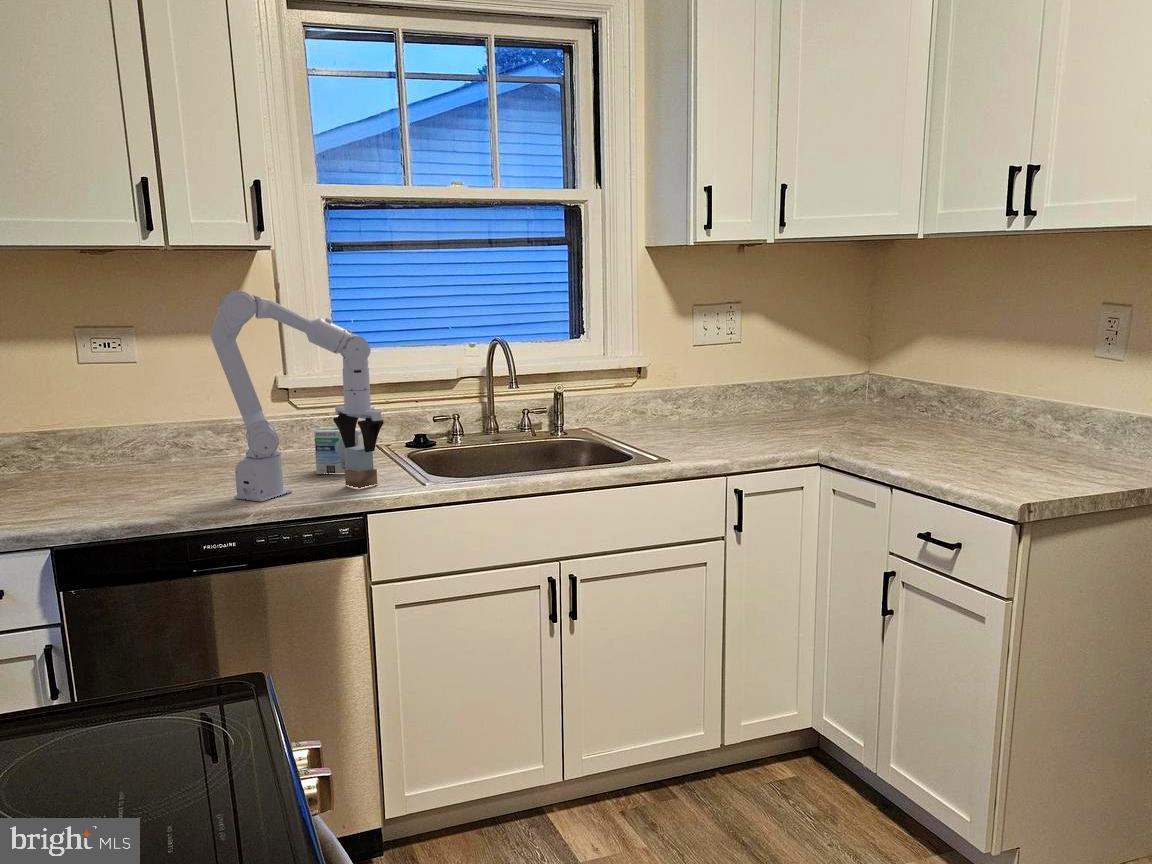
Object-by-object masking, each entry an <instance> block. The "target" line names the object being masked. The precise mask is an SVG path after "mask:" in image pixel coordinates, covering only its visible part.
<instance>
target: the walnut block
mask: <svg viewBox="0 0 1152 864" xmlns="http://www.w3.org/2000/svg"><path fill="white" fill-rule="evenodd" d="M344 480H345V483H344V484H345V486H346V485H349V486H353V487H358V488H361V487H365V486H369V485H374V484H377V485H378V471H377V469H376V468H373V469H372V470H367V471H362V472H355V471H351V470H345V474H344Z"/></svg>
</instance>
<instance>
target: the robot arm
mask: <svg viewBox="0 0 1152 864" xmlns="http://www.w3.org/2000/svg"><path fill="white" fill-rule="evenodd" d="M222 299H223V300H221V302H220V303H219V305H218V307H217V310H216V311H217V312H216V315H215V318H214V322H213V325H212V329H211V333H210V338H211V342H212V344H213V347H214V351H215V352H216V354H217V357H218V360H219V362H220V365H221V367H222V370H223V372H224V375H225V378H226V380H227V382H228V385H229V387H230V389H231V392H232V395H233V397H234V400H235V403H236V405H237V407H238V410H239V413H240V416H241V417H242V421H243V423H244V425H245V428H246V431H245V433H246V434H245V438H246V441H247V446H248V450H247V451H246V452H245V457H244V459H242V460H240V461H239V462H237V464H236V465H235V471H234V474H235V487H236V495H234V497H233V498H234V499H238V500H239V499H240V500H245V499H246V500H247V501H255V502H265V501H268V500H271V498H272V499H275V498H277V496H278V497H281V496H285V495H286V493H287V494H289V493H293V489H289V488H284V479H283V465H282V451H281V450H279V449H278V448H279V445H280V438H279V436H278V434H277V431H276V428H275V427H274V426H273V425H272V424H271V422H269V421H268V420H267V417H266V415H265V412H264V409H263V407H262V404H261V402H260V400H259V397H258V395H257V394H258V393H257V391H256V389H255V387H254V385H253V382H252V379H251V376H250V374H249V371H248V368H247V366H246V364H245V360H244V359H243V356H242V353H241V351H240V348H239V346H238V342H237V338H238V336H239V334H240V332H241V331H242V328H243V327H244V326H245V324H247V323H248V322H249V321H250V320H251V319H252V318H253V317H254V316H255V318H256V319H259V320H260V319H273V320H275V321H276V322H279V323H281V324H284V325H286V326H288V327H291V328H293V329H296V330H297V331H299V332H302V333H305V335H306V337H307V340H308V342H309V343H311V344H313V345H316V346H318V347H320V348H322V349H325V350H326V351H328V352H331V353H333V354H340V356H341V357H342V387H343V388H342V389H343V404H344V405H337V406H336V405H335V407H334V411H335V412H334V413H335V415H336V416H337V417H333V419H332V420H333V422H334V424H335V425H336V427H338V429H339V431H340V434H341V436H342V439H343V443H344V446H345V448H350V447H354V445H355V429H356V426H359V427H360V429H361V432H362V436H363V443H364V449H365V452H371V451H373V452H375V451H376V446H377V441H378V437H379V434H380V431H381V429H382V427H383V425H384V424H385V423H384V421H385V420H383V419H382V411H380V410H377V409H375V407H374V406H372V405H371V386H370V368H369V359H368V358H369V357H370V354H371V350H372V349H371V348H370V345H369V342H368V341H367V340H366V339H365V338H364V337H362V336H360V335H357V333H353V330H351V329H349V328H347V329H345V328H343V327H341V326H339V325H337V324H334V323H333V320H332V319H330V318H328V317H325V319H324V318H322V317H319V318H315V319H313V320H311V319H309V318H307V317H305V316H304V315H302V314H300V313H297V312H295V311H293V310H291V309H290V308H288V307H286V306H283V305H281V304H279V303H278V302H275V301H274V300H271V299H267V298H265V297H262V296H258V295H254V294H250V293H248V292H246V291H242V290H233V291H231V292H228V293H227V294H226V295H225V296H224V298H222ZM359 419H363V420H359ZM357 424H358V425H357ZM280 495H281V496H280ZM274 497H275V498H274Z"/></svg>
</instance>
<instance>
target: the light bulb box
mask: <svg viewBox="0 0 1152 864" xmlns="http://www.w3.org/2000/svg"><path fill="white" fill-rule="evenodd" d="M361 445H362V446H364V443H363V436H362V432H361V429H360V427H359V425H356V429H355V445H354V447H356V446H361ZM314 446H315V447H314V448H315V449H314V452H315V453H314V454H315V469H316V475H317V474H324V473H325V474H326V473H328V474H329V473H345V470H348V460H347V448H345V446H344V443H343V439H342V436H341V434H340V431H339V429H338V427H337V426H320V427H319V428H318V429H316V430H315V431H314Z"/></svg>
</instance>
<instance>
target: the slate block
mask: <svg viewBox="0 0 1152 864" xmlns="http://www.w3.org/2000/svg"><path fill="white" fill-rule="evenodd" d="M373 452H374V451H371V452H365V449H364V446H362V445H361V446H356V447H350V448H347V460H348V470H351V471H355V472H362V471H367V470H372V469H374V455H373Z"/></svg>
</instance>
